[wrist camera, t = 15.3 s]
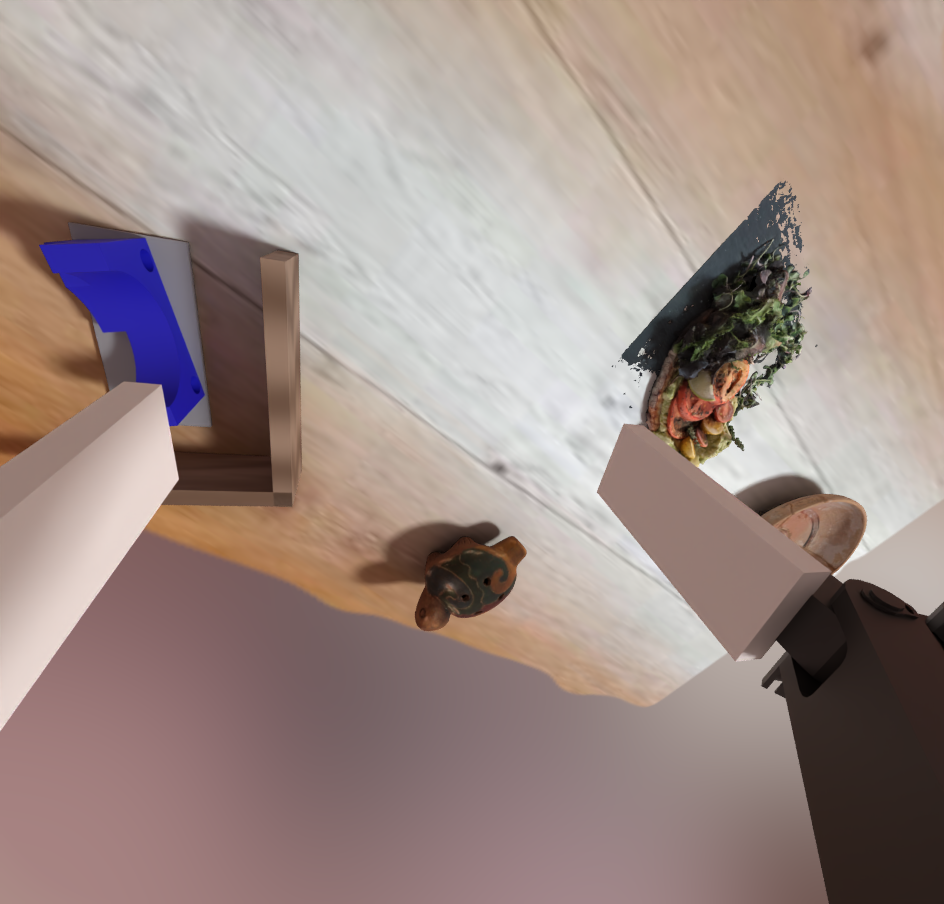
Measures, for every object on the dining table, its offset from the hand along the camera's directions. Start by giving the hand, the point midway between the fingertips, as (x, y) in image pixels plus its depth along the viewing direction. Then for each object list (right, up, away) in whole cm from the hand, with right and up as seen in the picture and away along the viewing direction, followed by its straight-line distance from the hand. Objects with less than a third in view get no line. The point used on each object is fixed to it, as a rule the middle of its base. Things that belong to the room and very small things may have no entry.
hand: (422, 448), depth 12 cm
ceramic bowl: (+49, -14, +53) cm, 73 cm away
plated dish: (+29, +10, +35) cm, 46 cm away
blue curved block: (-24, +10, +20) cm, 32 cm away
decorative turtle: (0, -13, +40) cm, 42 cm away
